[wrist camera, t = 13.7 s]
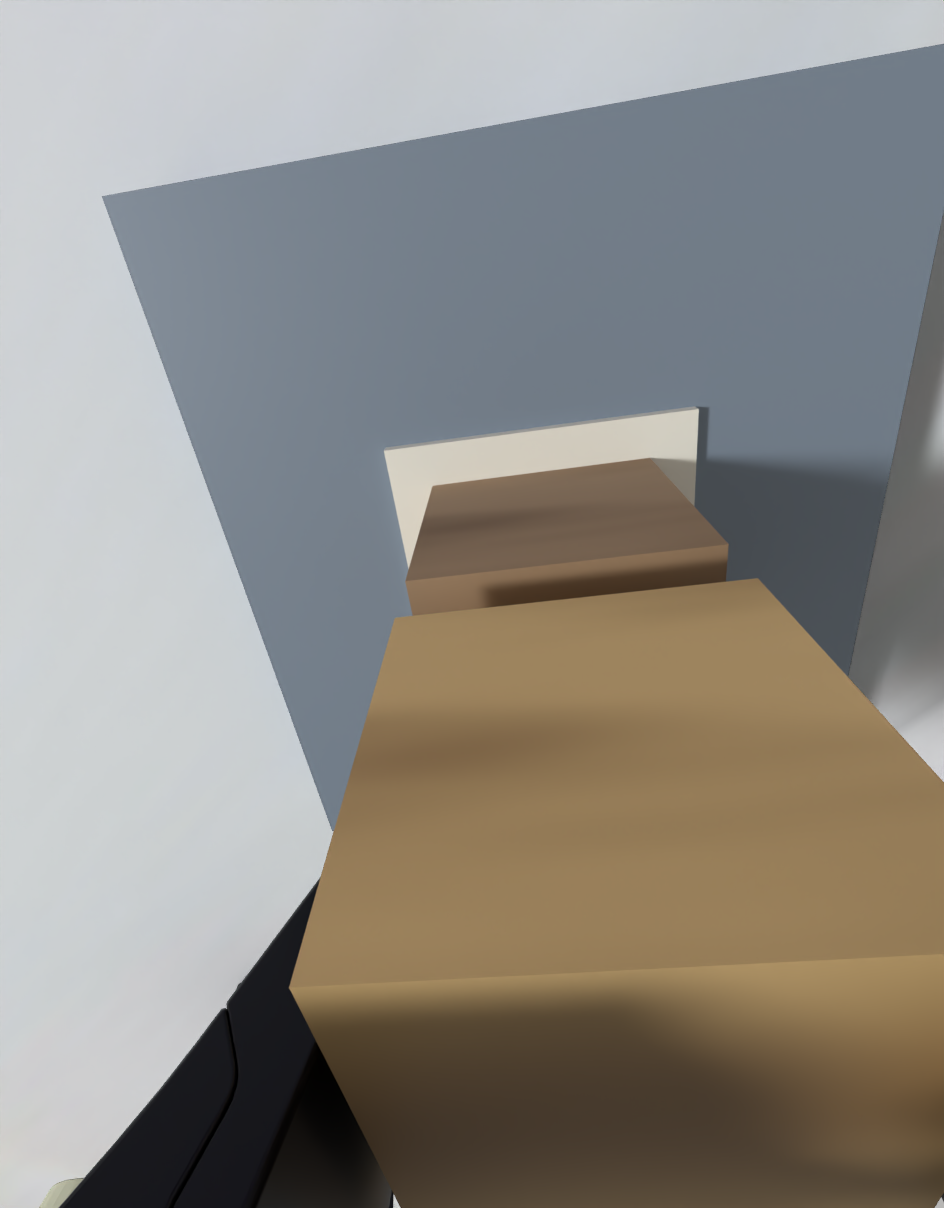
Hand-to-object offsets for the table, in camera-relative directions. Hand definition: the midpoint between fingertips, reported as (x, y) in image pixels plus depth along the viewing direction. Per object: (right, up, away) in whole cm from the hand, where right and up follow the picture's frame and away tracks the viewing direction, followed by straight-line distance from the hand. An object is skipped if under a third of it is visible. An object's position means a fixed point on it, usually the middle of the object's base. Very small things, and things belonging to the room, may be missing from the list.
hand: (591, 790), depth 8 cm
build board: (0, +5, +8) cm, 10 cm away
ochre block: (0, +1, +1) cm, 1 cm away
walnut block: (0, +4, +6) cm, 7 cm away
